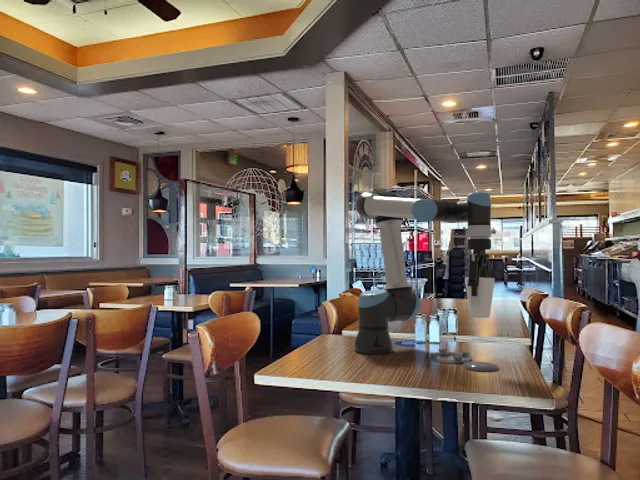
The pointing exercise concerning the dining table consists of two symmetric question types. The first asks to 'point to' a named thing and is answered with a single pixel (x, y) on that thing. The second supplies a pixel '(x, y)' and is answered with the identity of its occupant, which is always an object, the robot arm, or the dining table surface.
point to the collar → (456, 357)
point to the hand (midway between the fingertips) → (479, 304)
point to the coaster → (480, 366)
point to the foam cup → (481, 298)
